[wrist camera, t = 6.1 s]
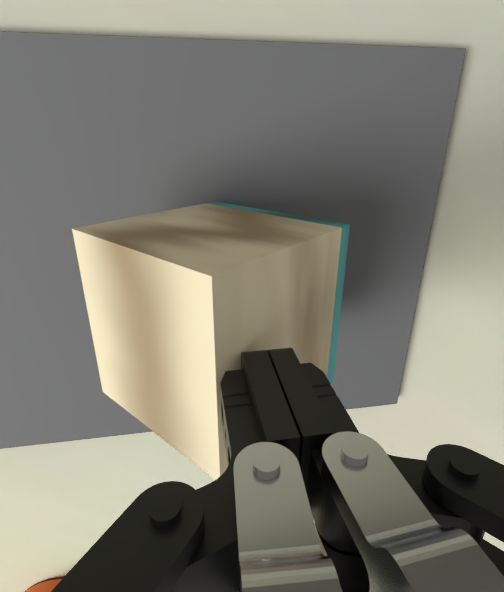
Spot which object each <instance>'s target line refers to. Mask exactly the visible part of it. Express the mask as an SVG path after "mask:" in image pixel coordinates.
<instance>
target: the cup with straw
mask: <svg viewBox="0 0 504 592" xmlns="http://www.w3.org/2000/svg"><path fill="white" fill-rule="evenodd" d="M61 580H62V579H53V580H48V581H45V582H42V583H39V584H37V585H34V586H33V587H31V588H29V589H28V590H27V591H25V592H51V591H52V590H53V589H54V588H55V587H56V585H57V584H58V583H59V582H60V581H61Z"/></svg>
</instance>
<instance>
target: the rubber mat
mask: <svg viewBox="0 0 504 592" xmlns="http://www.w3.org/2000/svg"><path fill="white" fill-rule="evenodd" d="M465 51H466V49H464V48H437V47H410V46H383V45H355V44H328V43H301V42H273V41H246V40H219V39H192V38H164V37H137V36H110V35H83V34H55V33H28V32H1V31H0V449H2V448H11V447H20V446H29V445H37V444H46V443H55V442H64V441H73V440H81V439H90V438H99V437H108V436H116V435H125V434H134V433H143V432H152V430H151V429H149V428H148V427H147V426H146V425H144V424H143V423H142V422H141V421H139V420H138V419H137V418H135V417H134V416H133V415H132V414H130V413H129V412H128V411H126V410H125V409H124V408H123V407H121V406H120V405H119V404H118V403H116V402H115V401H114V400H112V399H111V398H110V397H109V396H107V395H106V394H105V393H104V392H103V390H102V385H101V380H100V375H99V369H98V364H97V359H96V353H95V348H94V343H93V337H92V332H91V327H90V322H89V316H88V311H87V306H86V300H85V295H84V290H83V285H82V279H81V274H80V269H79V263H78V258H77V253H76V247H75V242H74V237H73V232H72V229H74V228H79V227H84V226H89V225H95V224H100V223H105V222H110V221H116V220H121V219H126V218H131V217H137V216H142V215H147V214H152V213H157V212H163V211H168V210H173V209H178V208H184V207H189V206H194V205H199V204H205V203H210V202H215V201H217V202H222V203H228V204H234V205H240V206H245V207H251V208H257V209H263V210H268V211H274V212H280V213H286V214H291V215H297V216H303V217H309V218H314V219H320V220H326V221H332V222H337V223H343V224H349V225H350V229H349V238H348V247H347V257H346V266H345V275H344V284H343V294H342V303H341V312H340V322H339V331H338V340H337V349H336V359H335V368H334V377H333V382H332V383H331V386H332V387H333V389H334V391H335V392H336V396H338V398H339V399H340V401H341V403H342V404H343V406H344V408H345V409H353V408H362V407H371V406H380V405H388V404H397V400H398V395H399V390H400V385H401V380H402V375H403V369H404V364H405V359H406V354H407V349H408V344H409V339H410V333H411V328H412V323H413V318H414V313H415V308H416V303H417V297H418V292H419V287H420V282H421V277H422V272H423V267H424V262H425V256H426V251H427V246H428V241H429V236H430V231H431V226H432V220H433V215H434V210H435V205H436V200H437V195H438V190H439V184H440V179H441V174H442V169H443V164H444V159H445V154H446V148H447V143H448V138H449V133H450V128H451V123H452V118H453V112H454V107H455V102H456V97H457V92H458V87H459V82H460V76H461V71H462V66H463V61H464V56H465Z"/></svg>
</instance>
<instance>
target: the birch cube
mask: <svg viewBox="0 0 504 592" xmlns="http://www.w3.org/2000/svg"><path fill="white" fill-rule="evenodd" d="M349 229H350V225H349V224H343V223H337V222H332V221H326V220H320V219H314V218H309V217H303V216H297V215H291V214H286V213H280V212H274V211H268V210H263V209H257V208H251V207H245V206H240V205H234V204H228V203H222V202H217V201H215V202H210V203H205V204H199V205H194V206H189V207H184V208H178V209H173V210H168V211H163V212H157V213H152V214H147V215H142V216H137V217H131V218H126V219H121V220H116V221H110V222H105V223H100V224H95V225H89V226H84V227H79V228H74V229H72V232H73V237H74V242H75V247H76V253H77V258H78V263H79V269H80V274H81V279H82V285H83V290H84V295H85V300H86V306H87V311H88V316H89V322H90V327H91V332H92V337H93V343H94V348H95V353H96V359H97V364H98V369H99V375H100V380H101V385H102V390H103V392H104V393H105V394H106V395H107V396H109V397H110V398H111V399H112V400H114V401H115V402H116V403H118V404H119V405H120V406H121V407H123V408H124V409H125V410H126V411H128V412H129V413H130V414H132V415H133V416H134V417H135V418H137V419H138V420H139V421H141V422H142V423H143V424H144V425H146V426H147V427H148V428H149V429H151V430H152V431H153V432H155V433H156V434H157V435H158V436H160V437H161V438H162V439H163V440H165V441H166V442H167V443H169V444H170V445H171V446H172V447H174V448H175V449H176V450H177V451H179V452H180V453H181V454H183V455H184V456H185V457H186V458H188V459H189V460H190V461H191V462H193V463H194V464H195V465H197V466H198V467H199V468H200V469H202V470H203V471H204V472H206V473H207V474H208V475H209V476H211V477H212V478H213V479H214V480H216V479H218V478H219V477H220V476H221V475H222V474H223V473H224V472H225V470H226V469H227V467H228V465H227V458H226V450H225V444H224V437H223V430H222V418H221V391H220V382H221V380H222V378H223V376H224V374H225V371H230V370H241V352H248V351H260V350H266V351H267V350H270V349H281V348H292V349H293V350H294V352H295V354H296V356H297V358H298V360H299V362H300V364H301V363H312V364H314V365H315V366H316V367H318V368H319V369H320V370H322V371H323V372H324V373H325V375H326V377H327V379H328V380H329V382H330V384H331V383H332V382H333V377H334V368H335V359H336V349H337V340H338V331H339V322H340V312H341V303H342V294H343V284H344V275H345V266H346V257H347V247H348V238H349Z"/></svg>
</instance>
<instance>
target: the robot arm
mask: <svg viewBox="0 0 504 592" xmlns="http://www.w3.org/2000/svg"><path fill="white" fill-rule="evenodd" d="M220 391H221V418H222V430H223V437H224V444H225V450H226V458H227V465H228V467H227V469H226V470H225V472H224V473H223V474H222V475H221V476H220V477H219V478H218V479H216V480H215V481H213V482H212V483H210V484H208V485H206V486H204V487H201V488H199V489H197V490H195V489H194V488H193V487H191V486H190V485H188V484H185V483H182V482H175V481H170V482H163V483H159V484H157V485H154V486H152V487H150V488H148V489H147V490H145V491H144V492H143V493H141V494H140V495H139V496H138V497H137V498H136V499H135V500H134V502H133V503H132V504H131V505H130V506H129V507H128V508H127V509H126V510H125V511H124V512H123V514H122V515H121V516H120V517H119V518H118V519H117V520H116V521H115V522H114V523H113V524H112V526H111V527H110V528H109V529H108V530H107V531H106V532H105V533H104V534H103V535H102V536H101V537H100V539H99V540H98V541H97V542H96V543H95V544H94V545H93V546H92V547H91V548H90V549H89V551H88V552H87V553H86V554H85V555H84V556H83V557H82V558H81V559H80V560H79V561H78V563H77V564H76V565H75V566H74V567H73V568H72V569H71V570H70V571H69V572H68V573H67V575H66V576H65V577H64V578H63V579H62V580H61V581H60V582H59V583H58V584H57V585H56V587H55V588H54V589H53V590H52V591H51V592H504V551H502V550H500V549H499V548H497V547H495V546H494V545H492V544H490V543H489V542H487V541H485V540H484V539H482V538H483V536H484V533H485V532H487V533H488V534H490V535H492V536H494V537H495V538H497V539H499V540H500V541H502V542H504V465H502V464H500V463H498V462H496V461H494V460H491V459H489V458H487V457H485V456H483V455H481V454H479V453H477V452H475V451H473V450H470V449H468V448H465V447H462V446H458V445H451V444H444V445H439V446H436V447H434V448H433V449H431V450H430V452H429V453H428V456H427V460H426V461H425V460H417V459H410V458H402V457H396V456H392V455H388V454H386V452H385V451H384V449H383V448H382V447H381V446H380V445H379V444H378V443H377V442H376V441H374V440H373V439H372V438H370V437H368V436H366V435H363V434H360V433H359V432H358V430H357V428H356V427H355V425H354V423H353V422H352V420H351V418H350V416H349V415H348V413H347V411H346V410H345V408H344V406H343V404H342V403H341V401H340V399H339V398H338V396H336V392H335V391H334V389H333V387H332V386H331V384H330V382H329V380H328V379H327V377H326V375H325V373H324V372H323V371H322V370H320V369H319V368H318V367H316V366H315V365H314V364H312V363H301V364H300V362H299V360H298V358H297V356H296V354H295V352H294V350H293V349H292V348H281V349H270V350H267V351H266V350H260V351H248V352H241V370H230V371H225V374H224V376H223V378H222V380H221V382H220ZM313 519H314V520H313ZM314 522H315V523H314Z"/></svg>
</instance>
